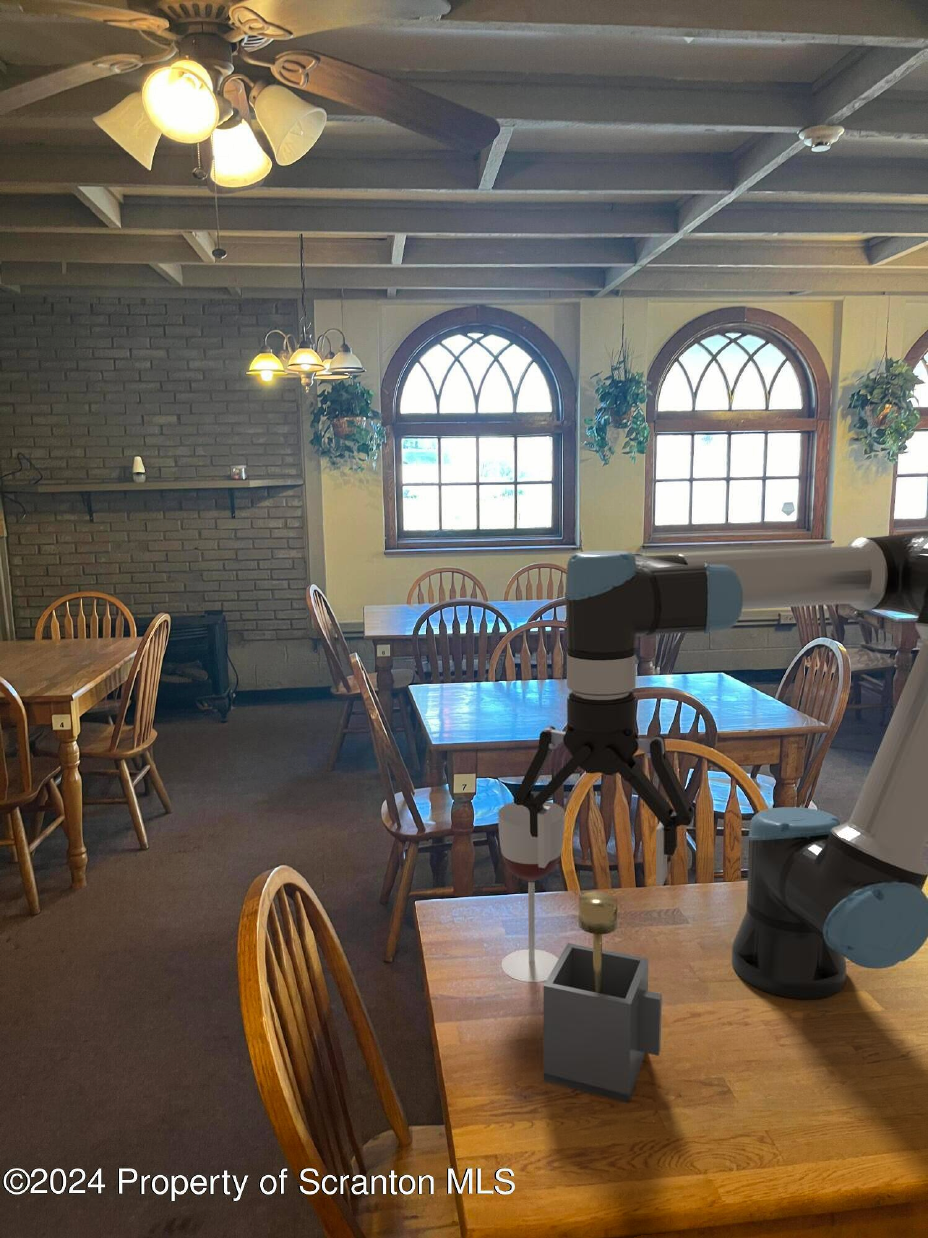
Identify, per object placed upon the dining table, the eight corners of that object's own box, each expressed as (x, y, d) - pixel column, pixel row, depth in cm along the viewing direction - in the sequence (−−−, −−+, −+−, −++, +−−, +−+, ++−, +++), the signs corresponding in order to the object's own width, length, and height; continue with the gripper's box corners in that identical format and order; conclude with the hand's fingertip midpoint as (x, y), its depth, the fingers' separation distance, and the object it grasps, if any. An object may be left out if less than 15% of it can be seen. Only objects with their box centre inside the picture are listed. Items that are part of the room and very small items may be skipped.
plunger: (633, 1038, 107) (635, 892, 104) (619, 1075, 100) (622, 920, 97) (575, 1025, 110) (576, 882, 107) (558, 1060, 103) (559, 909, 100)
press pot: (666, 1054, 107) (668, 962, 105) (650, 1108, 98) (652, 1009, 96) (567, 1031, 112) (567, 943, 110) (543, 1081, 103) (543, 985, 101)
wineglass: (573, 955, 130) (573, 805, 126) (550, 991, 121) (550, 830, 117) (514, 942, 134) (514, 796, 130) (488, 976, 125) (486, 820, 121)
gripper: (721, 690, 97) (717, 873, 100) (506, 676, 106) (510, 844, 110) (712, 708, 90) (709, 903, 93) (483, 691, 100) (488, 869, 103)
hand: (601, 871), depth 102 cm, fingers open, 13 cm apart
